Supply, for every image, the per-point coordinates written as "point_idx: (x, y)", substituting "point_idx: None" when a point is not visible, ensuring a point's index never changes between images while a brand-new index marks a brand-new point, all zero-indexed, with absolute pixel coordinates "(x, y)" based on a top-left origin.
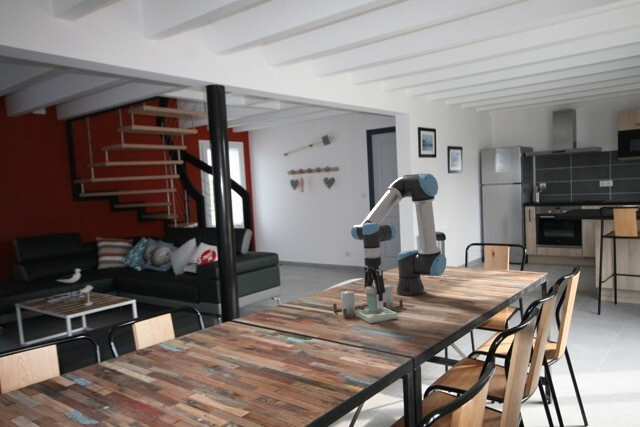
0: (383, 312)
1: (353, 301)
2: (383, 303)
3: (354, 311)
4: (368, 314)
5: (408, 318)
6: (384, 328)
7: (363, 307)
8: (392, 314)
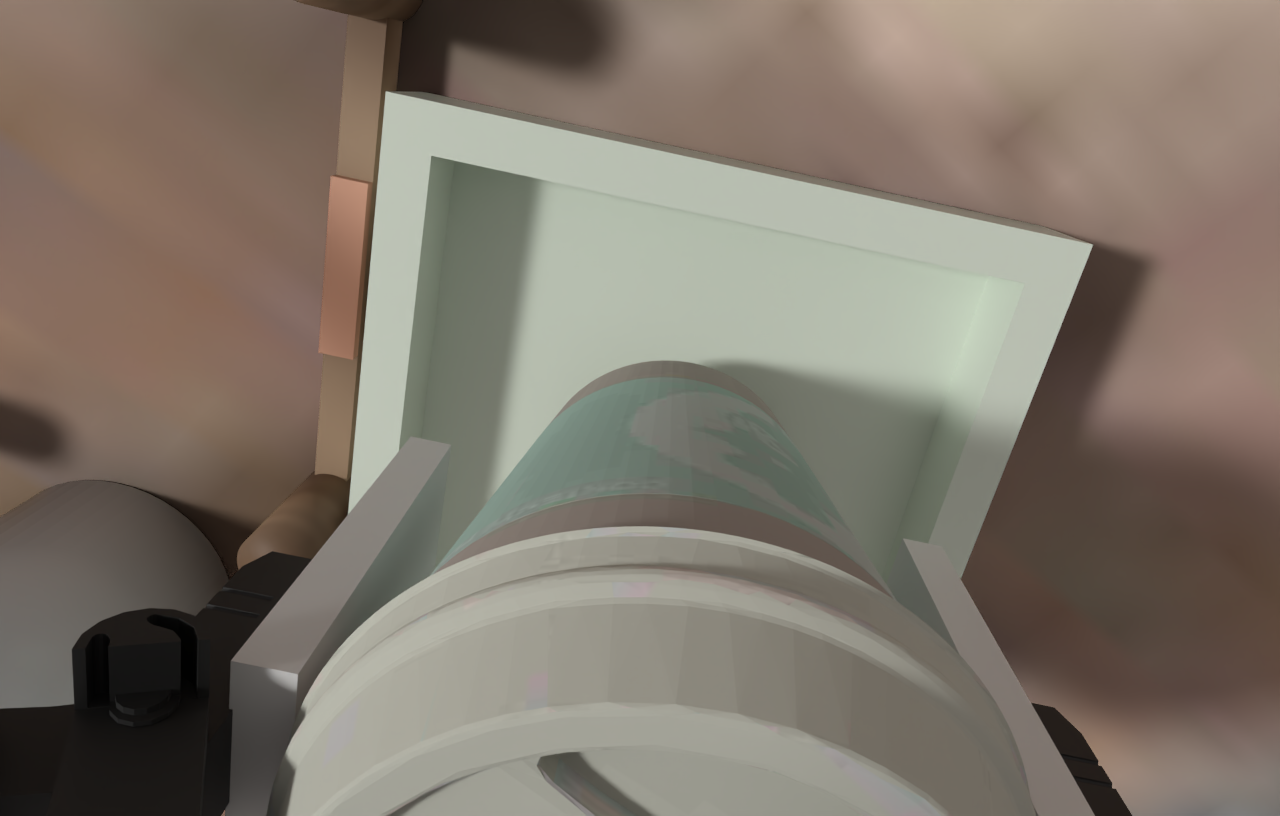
0: (577, 194)
1: (67, 700)
2: (332, 8)
3: (189, 561)
4: (487, 483)
5: (1244, 55)
6: (1224, 725)
7: (317, 544)
8: (1043, 351)
